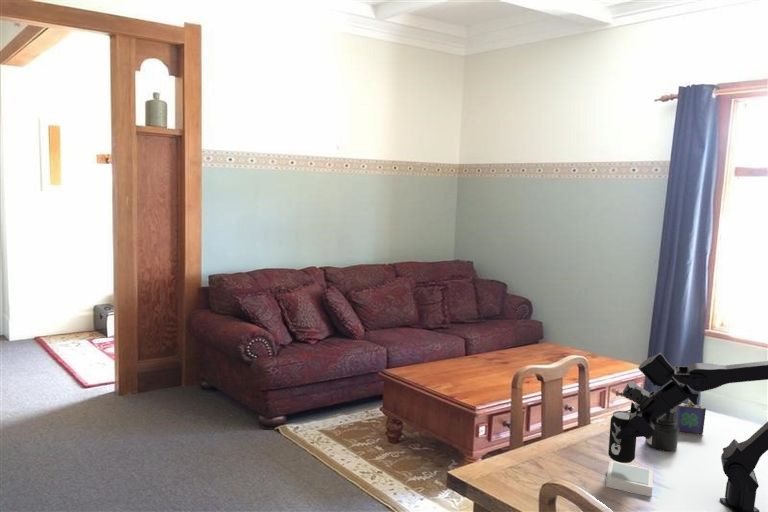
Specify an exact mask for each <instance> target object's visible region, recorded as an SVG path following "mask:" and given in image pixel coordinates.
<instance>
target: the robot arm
mask: <svg viewBox="0 0 768 512" xmlns="http://www.w3.org/2000/svg"><path fill="white" fill-rule="evenodd" d="M637 368H638V370H639V371H640V372H641V374H643V375H644V377H645V378H646V379H647V380H648V381H649V382H650V383H651V384H652V385H653V386H657V387H661V388H659V389H658V390H656V389H655V390H654V389H653V390H651V391H648V390H646V389H644V388H643V387H641V386H640V385H637V384H636V383H635V382H633V381H628V382H627V384H626V385H625V387H624V389H623V390H622V396H623V397H624V398H625V399H628V400H631V403H630V410H629V412H630V413H633V414H632V415H629V423H628V424H627V425H626V426H625V427H624V428H623V429H622V430H621V431H620V432H619V433H618V434H617V435H616V438H617V439H618V440H619V439H626V438H634V437H636V438H640V437H643V438H644V439H645V438H646V439H649V438H651V437H652V436H654V425H655V424H657V423H658V420H659V419H660V418H662V417H663V416H665V415H666V414H667V415H668V416H669V415H670V414H671V411H672V410H673V409H675V408H676V407H678V406H679V405H681V404H685V402H686V401H688V400H690V401H691V402H692V403H693V404H694V405H697V406H698V397H699V393H702V392H706V391H710V390H715V389H718V388H720V387H722V386H724V385H728V384H735V383H737V384H738V383H745V382H755V381H767V380H768V360H765V361H755V362H745V363H736V364H735V363H734V364H726V365H724V364H723V365H722V364H714V363H709V362H708V363H706V362H705V363H704V362H703V363H702V362H694V363H691V364H689V365H687V366H683V365H682V366H681V365H680V366H676V365H675V366H674V365H673V366H672V365H671V364H670V363H669V361H668V360H667V359H666V357H665V356H664V354H662V352H658V353H657V354H654V355H652V356H651V357H648V358H647V359H645V360H644V361H642V363H641V364H640V365H639V366H638V367H637ZM651 421H652V422H651ZM653 424H654V425H653ZM767 451H768V421H767V422H765V423H764V424H763V425H762V426H761V427H759V429H757V430H756V431H755V432H754V433H753V434H752V435H751V436H750V437H749V438H747V439H746V440H743V441H741V442H738V441H737V440H736V439H735V438H734V439H732V440H731V442H730V443H729V444H728V445H727V446H726V447H723V448H722V453H721V456H720V460H721V465H722V470H723V473H724V475H725V476H726V477H727V481H726V486H725V492H724V493H725V494H724V497H719V502H721V503H723V504H724V505H725V506H726V507H728V509H730V510H731V511H732V512H760V509H758V508H757V507H756V506H755V505H756V498H757V490H758V489H759V487H760V486H759V481H758V478H757V475H756V472H755V469H756V467H757V465H758V462H759V461H760V459H761V457H762V456H763V455H764V454H765V453H766V452H767Z"/></svg>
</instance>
